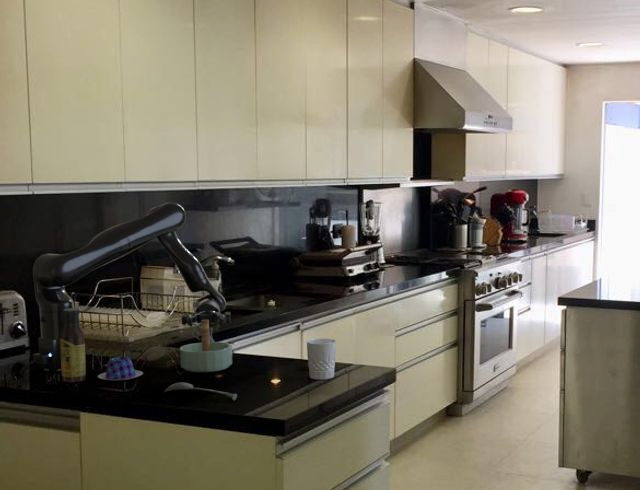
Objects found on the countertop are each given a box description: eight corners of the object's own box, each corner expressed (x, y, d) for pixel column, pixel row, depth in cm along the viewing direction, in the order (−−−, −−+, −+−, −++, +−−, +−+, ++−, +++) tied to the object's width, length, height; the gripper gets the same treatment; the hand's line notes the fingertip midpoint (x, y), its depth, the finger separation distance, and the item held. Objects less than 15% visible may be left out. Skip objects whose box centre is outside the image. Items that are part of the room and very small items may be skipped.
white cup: (340, 374, 257) (339, 339, 256) (330, 381, 250) (329, 344, 249) (314, 373, 260) (313, 338, 258) (303, 379, 252) (302, 343, 251)
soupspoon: (176, 391, 244) (159, 397, 238) (175, 378, 243) (157, 385, 237) (243, 396, 233) (226, 404, 228) (242, 383, 233) (225, 390, 227)
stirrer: (207, 367, 265) (205, 322, 263) (193, 365, 268) (191, 320, 266) (219, 363, 270) (218, 319, 268) (206, 361, 272) (204, 318, 270)
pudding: (122, 370, 265) (121, 352, 264) (152, 375, 259) (151, 356, 258) (88, 379, 255) (87, 360, 254) (118, 384, 249) (117, 365, 248)
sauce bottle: (58, 380, 254) (54, 308, 251) (81, 377, 258) (77, 306, 255) (67, 384, 249) (62, 311, 246) (90, 381, 253) (86, 309, 250)
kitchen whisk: (207, 356, 283) (206, 336, 282) (190, 338, 314) (190, 320, 313) (227, 355, 285) (226, 334, 284) (209, 337, 316) (208, 318, 316)
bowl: (207, 375, 259) (206, 353, 258) (169, 369, 266) (168, 348, 265) (242, 365, 271) (242, 344, 270) (206, 360, 279) (205, 340, 278)
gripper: (183, 302, 286) (180, 310, 270) (230, 300, 288) (230, 308, 273) (184, 326, 287) (181, 336, 271) (231, 324, 289) (231, 333, 274)
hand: (205, 322), depth 272 cm, fingers open, 8 cm apart
